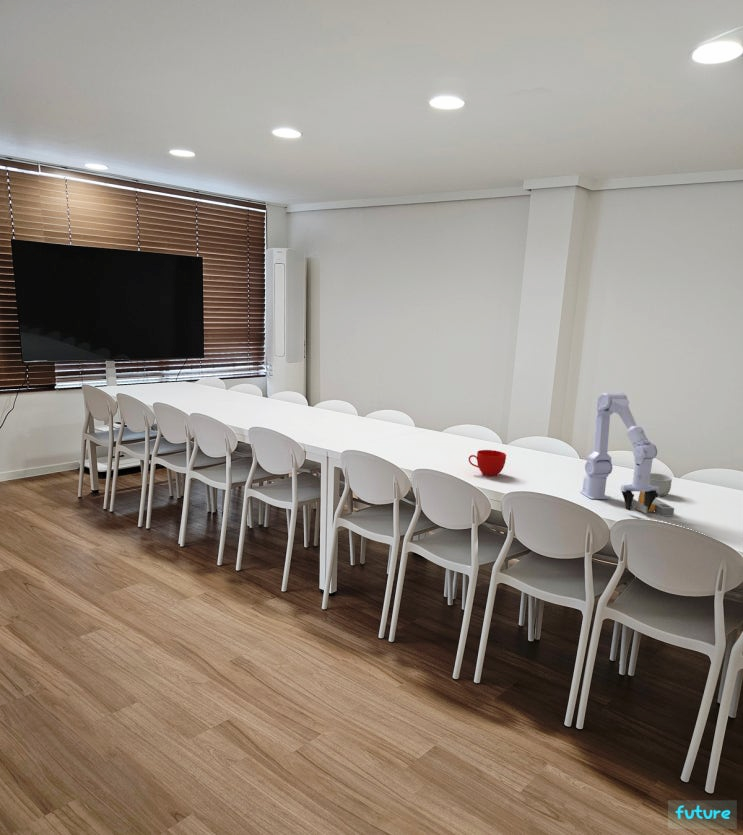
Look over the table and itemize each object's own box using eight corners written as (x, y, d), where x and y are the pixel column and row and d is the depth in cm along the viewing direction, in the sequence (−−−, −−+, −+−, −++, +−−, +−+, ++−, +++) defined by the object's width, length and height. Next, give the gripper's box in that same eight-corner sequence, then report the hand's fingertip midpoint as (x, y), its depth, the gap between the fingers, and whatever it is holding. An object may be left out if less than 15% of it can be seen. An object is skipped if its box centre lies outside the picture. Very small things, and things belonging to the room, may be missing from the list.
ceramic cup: (463, 470, 286) (465, 449, 284) (499, 471, 287) (501, 450, 286) (471, 478, 273) (472, 456, 271) (508, 478, 275) (510, 457, 273)
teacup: (675, 497, 260) (678, 479, 259) (652, 498, 258) (655, 479, 256) (653, 488, 273) (656, 470, 272) (632, 488, 271) (634, 470, 270)
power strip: (637, 502, 251) (638, 494, 250) (649, 502, 251) (650, 494, 251) (661, 515, 235) (662, 507, 235) (673, 515, 236) (674, 507, 235)
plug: (635, 508, 242) (637, 491, 241) (648, 508, 243) (650, 491, 242) (640, 511, 238) (643, 494, 237) (654, 511, 239) (656, 494, 238)
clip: (627, 505, 245) (628, 495, 244) (630, 505, 245) (632, 495, 244) (643, 515, 234) (645, 505, 233) (647, 515, 234) (649, 505, 233)
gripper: (629, 477, 227) (625, 513, 229) (666, 478, 229) (660, 513, 232) (619, 472, 234) (615, 506, 236) (654, 473, 236) (650, 507, 238)
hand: (637, 509), depth 234 cm, fingers open, 7 cm apart
